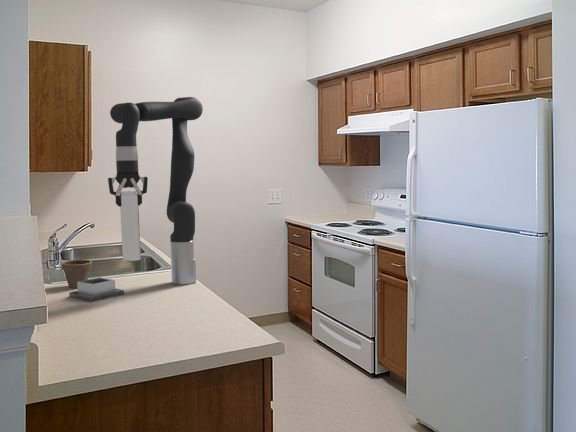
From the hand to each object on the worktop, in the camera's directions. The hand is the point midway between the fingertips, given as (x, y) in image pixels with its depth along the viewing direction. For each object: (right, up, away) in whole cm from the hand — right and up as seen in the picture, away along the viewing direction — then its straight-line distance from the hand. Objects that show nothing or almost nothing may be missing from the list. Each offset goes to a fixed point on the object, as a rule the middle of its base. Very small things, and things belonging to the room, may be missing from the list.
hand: (129, 205), depth 195 cm
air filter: (0, -20, +2) cm, 20 cm away
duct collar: (-14, -33, +7) cm, 37 cm away
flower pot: (-27, -32, +22) cm, 47 cm away
